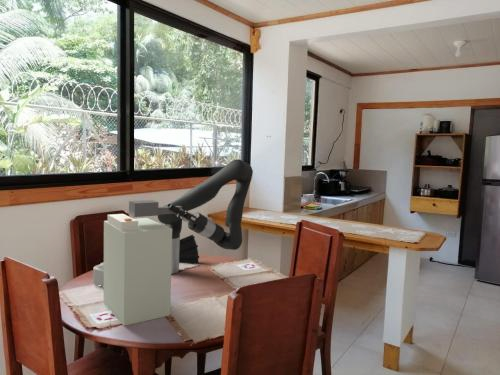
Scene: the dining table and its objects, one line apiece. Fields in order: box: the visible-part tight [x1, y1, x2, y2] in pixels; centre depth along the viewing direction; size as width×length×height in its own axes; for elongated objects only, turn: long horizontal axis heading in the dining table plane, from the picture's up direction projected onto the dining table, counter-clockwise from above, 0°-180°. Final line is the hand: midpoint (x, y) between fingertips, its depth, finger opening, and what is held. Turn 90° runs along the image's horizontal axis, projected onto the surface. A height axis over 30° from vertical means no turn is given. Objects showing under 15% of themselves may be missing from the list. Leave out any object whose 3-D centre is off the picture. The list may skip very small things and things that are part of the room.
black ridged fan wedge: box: [179, 234, 200, 265], centre depth 209 cm, size 4×13×15 cm, turn 82°
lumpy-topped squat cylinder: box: [92, 261, 104, 286], centre depth 174 cm, size 10×13×9 cm
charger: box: [128, 199, 182, 218], centre depth 149 cm, size 6×20×5 cm, turn 126°
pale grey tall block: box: [103, 213, 172, 327], centre depth 146 cm, size 24×17×36 cm
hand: (168, 206), depth 151 cm, fingers closed on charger, 2 cm apart
